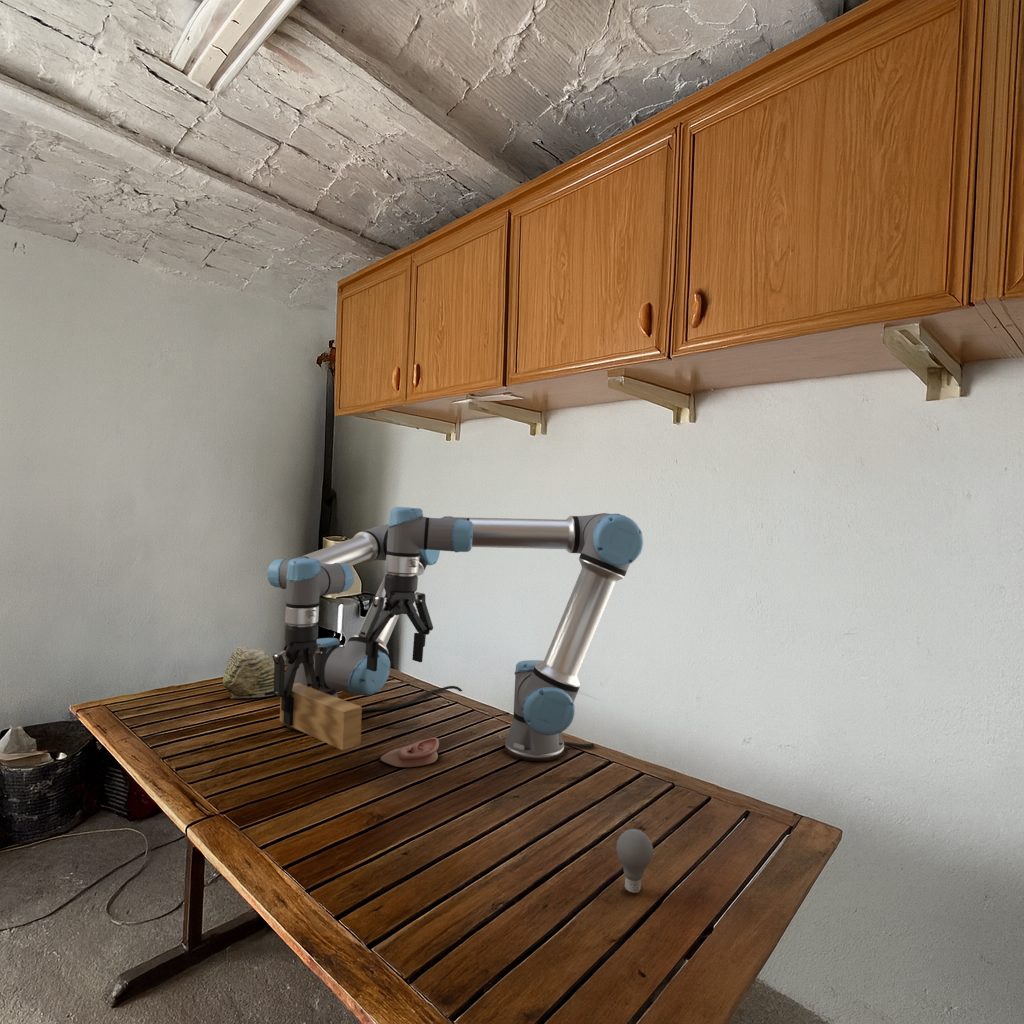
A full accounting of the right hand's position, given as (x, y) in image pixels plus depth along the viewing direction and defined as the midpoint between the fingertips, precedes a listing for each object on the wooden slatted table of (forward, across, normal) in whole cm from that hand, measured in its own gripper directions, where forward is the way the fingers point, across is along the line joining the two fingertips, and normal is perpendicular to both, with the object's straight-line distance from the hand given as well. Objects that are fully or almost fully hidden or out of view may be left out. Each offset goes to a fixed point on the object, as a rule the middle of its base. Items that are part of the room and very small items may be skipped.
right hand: (395, 665), depth 146 cm
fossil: (+26, +7, +73) cm, 78 cm away
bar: (+17, -11, +12) cm, 23 cm away
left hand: (+16, -11, +20) cm, 28 cm away
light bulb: (+24, -1, -64) cm, 68 cm away
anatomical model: (+25, +9, +2) cm, 27 cm away
